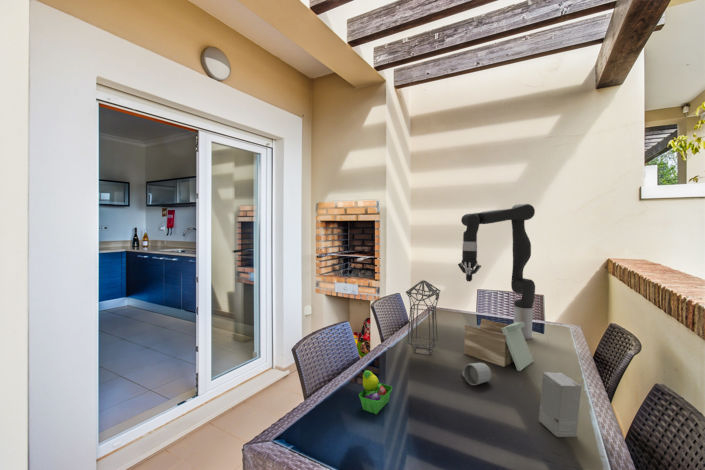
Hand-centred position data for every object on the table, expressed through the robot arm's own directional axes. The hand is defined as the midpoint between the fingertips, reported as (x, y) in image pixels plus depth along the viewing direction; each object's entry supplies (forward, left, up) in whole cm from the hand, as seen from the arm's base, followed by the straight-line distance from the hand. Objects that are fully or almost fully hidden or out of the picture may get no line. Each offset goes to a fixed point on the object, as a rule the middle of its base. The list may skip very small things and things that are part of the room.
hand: (468, 281), depth 172 cm
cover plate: (+12, +30, -24) cm, 40 cm away
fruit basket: (+86, +13, -32) cm, 93 cm away
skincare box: (+52, +58, -32) cm, 84 cm away
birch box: (+12, +19, -32) cm, 39 cm away
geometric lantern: (+33, -6, -32) cm, 46 cm away
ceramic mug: (+43, +26, -32) cm, 60 cm away
